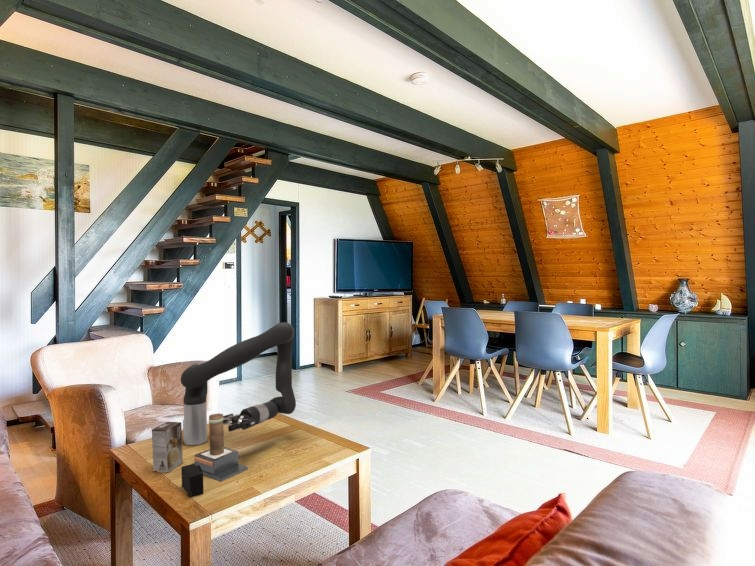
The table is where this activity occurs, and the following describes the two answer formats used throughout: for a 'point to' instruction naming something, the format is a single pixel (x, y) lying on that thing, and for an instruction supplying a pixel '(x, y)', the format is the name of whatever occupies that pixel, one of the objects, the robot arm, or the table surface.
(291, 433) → the table surface
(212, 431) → the column
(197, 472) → the digital camera
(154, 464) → the coffee box
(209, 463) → the step stand
